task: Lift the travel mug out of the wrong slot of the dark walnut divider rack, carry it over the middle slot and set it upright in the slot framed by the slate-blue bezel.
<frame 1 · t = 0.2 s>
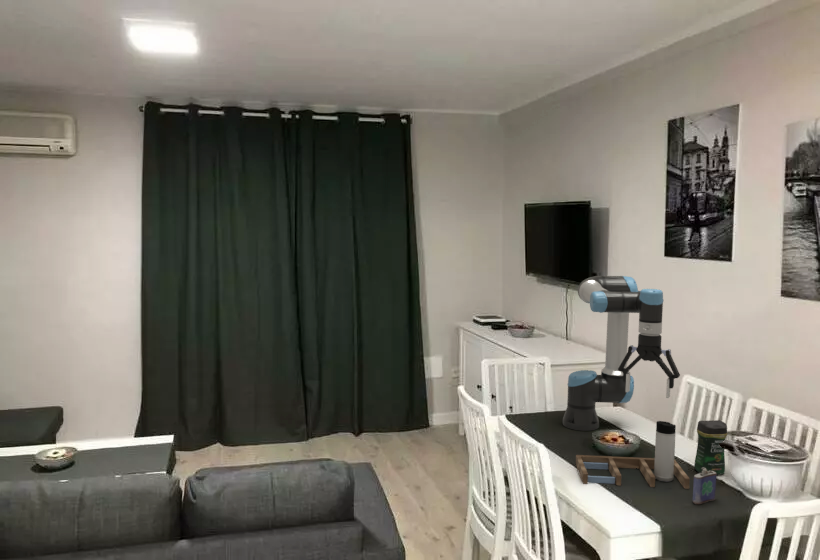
hand: (647, 394, 232), 28 cm above the table, tool pointing down, fingers open, 13 cm apart
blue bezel: (597, 475, 232), resting in divider rack
travel mug: (663, 478, 230), resting in divider rack
flask: (703, 501, 212), on the table
divider rack: (630, 476, 231), on the table
coffee jar: (709, 472, 236), on the table
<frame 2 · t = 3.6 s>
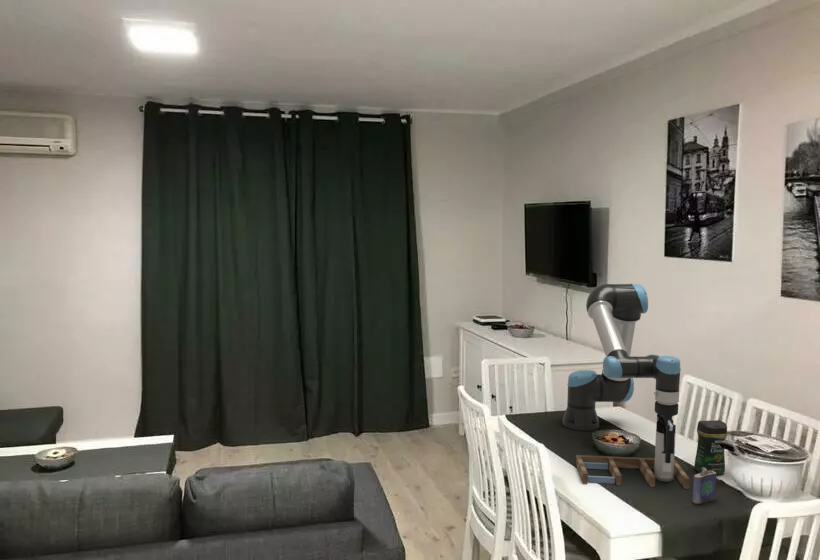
hand: (663, 467, 230), 4 cm above the table, tool pointing down, fingers closed on travel mug, 6 cm apart
travel mug: (663, 478, 230), resting in divider rack, touching gripper
everything else where it was.
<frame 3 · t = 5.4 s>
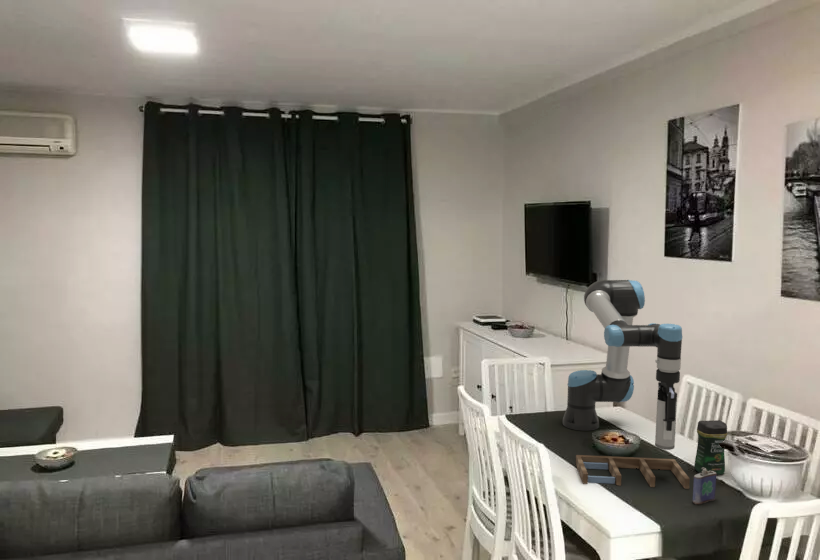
hand: (664, 435, 229), 15 cm above the table, tool pointing down, fingers closed on travel mug, 6 cm apart
travel mug: (664, 447, 229), point 11 cm above the table, touching gripper
everything else where it was.
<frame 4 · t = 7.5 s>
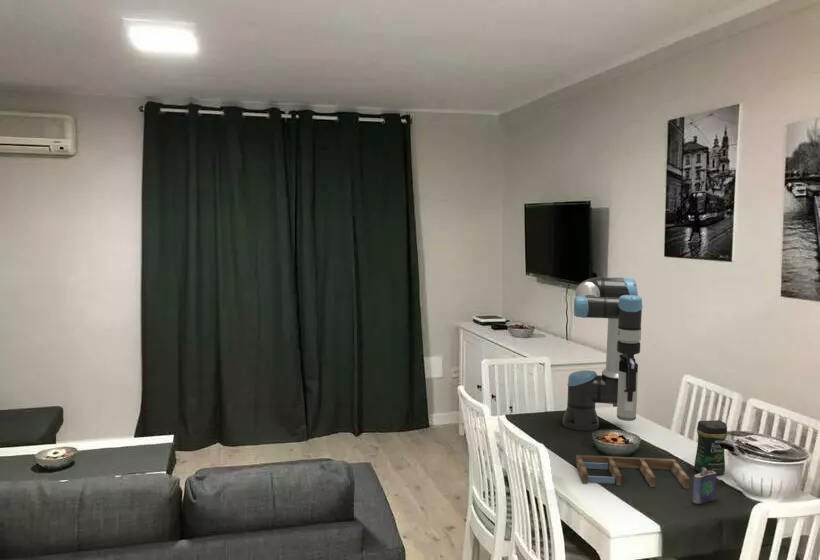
hand: (626, 407, 229), 25 cm above the table, tool pointing down, fingers closed on travel mug, 6 cm apart
travel mug: (625, 418, 229), point 21 cm above the table, touching gripper
everything else where it was.
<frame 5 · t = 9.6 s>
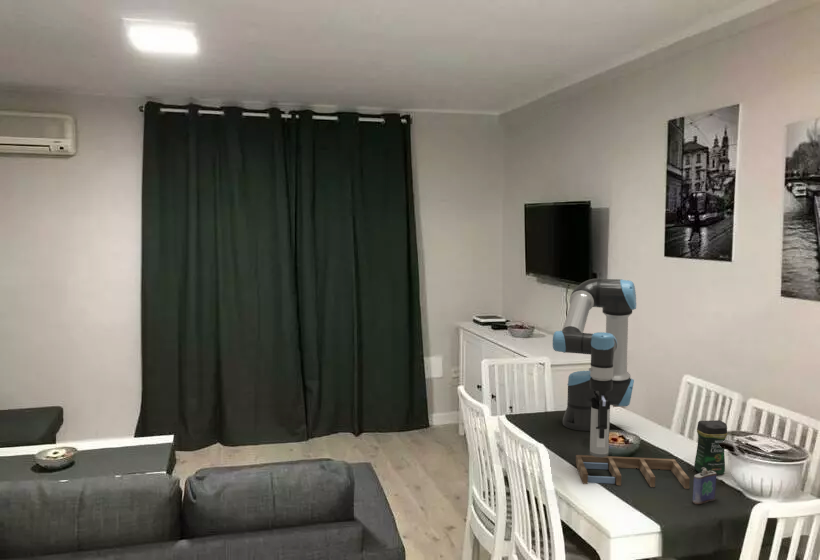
hand: (598, 443, 231), 12 cm above the table, tool pointing down, fingers closed on travel mug, 6 cm apart
travel mug: (598, 455, 231), point 7 cm above the table, touching gripper
everything else where it was.
when the fingers open (5 cm above the table, at t = 11.3 s): travel mug drops 1 cm, resting in divider rack.
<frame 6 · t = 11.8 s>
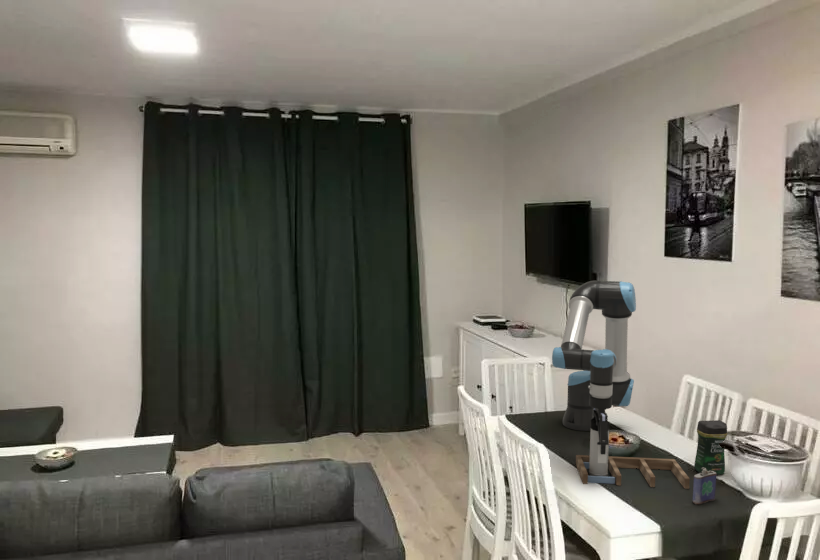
hand: (598, 455, 232), 7 cm above the table, tool pointing down, fingers open, 13 cm apart
travel mug: (597, 475, 232), resting in divider rack
everything else where it was.
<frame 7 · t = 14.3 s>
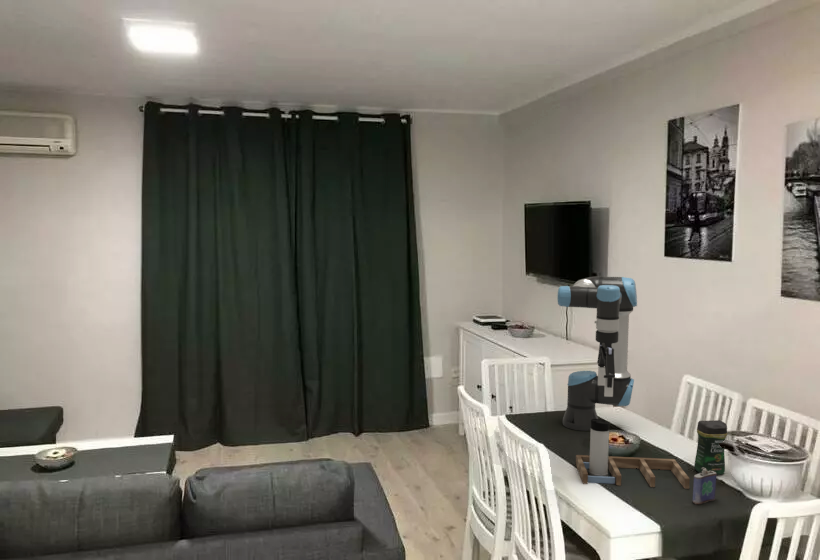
hand: (605, 390, 232), 29 cm above the table, tool pointing down, fingers open, 13 cm apart
nothing on the table moved.
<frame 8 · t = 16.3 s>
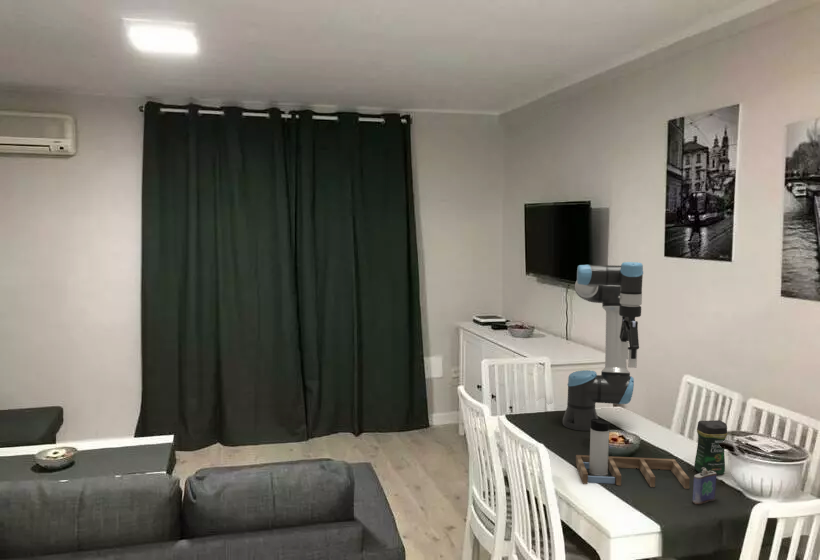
hand: (628, 363, 242), 37 cm above the table, tool pointing down, fingers open, 13 cm apart
nothing on the table moved.
at the end: travel mug 0.0 cm off-centre on the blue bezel, point 0.0 cm above the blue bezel's base; travel mug tilted 0°; the gripper is holding nothing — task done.
